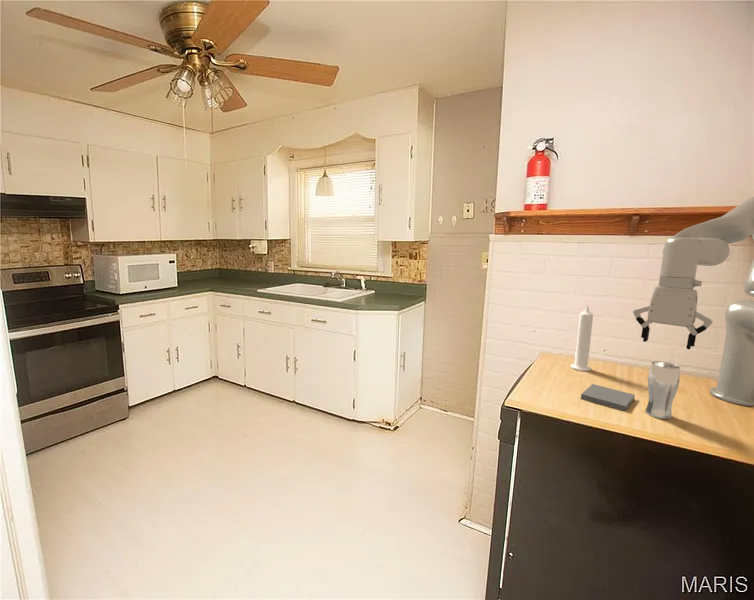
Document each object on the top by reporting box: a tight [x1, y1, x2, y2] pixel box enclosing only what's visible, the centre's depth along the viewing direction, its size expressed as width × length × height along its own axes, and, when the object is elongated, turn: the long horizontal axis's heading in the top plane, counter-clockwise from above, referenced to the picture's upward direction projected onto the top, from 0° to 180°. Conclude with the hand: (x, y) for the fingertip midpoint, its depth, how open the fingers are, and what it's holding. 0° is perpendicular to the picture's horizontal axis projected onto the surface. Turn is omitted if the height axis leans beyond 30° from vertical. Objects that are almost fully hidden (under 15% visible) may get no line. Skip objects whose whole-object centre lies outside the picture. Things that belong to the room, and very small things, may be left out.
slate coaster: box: [580, 383, 636, 412], centre depth 118 cm, size 12×12×2 cm
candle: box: [570, 305, 594, 372], centre depth 144 cm, size 7×7×25 cm
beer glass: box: [645, 360, 681, 420], centre depth 106 cm, size 7×7×15 cm
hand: (666, 344), depth 104 cm, fingers open, 9 cm apart
